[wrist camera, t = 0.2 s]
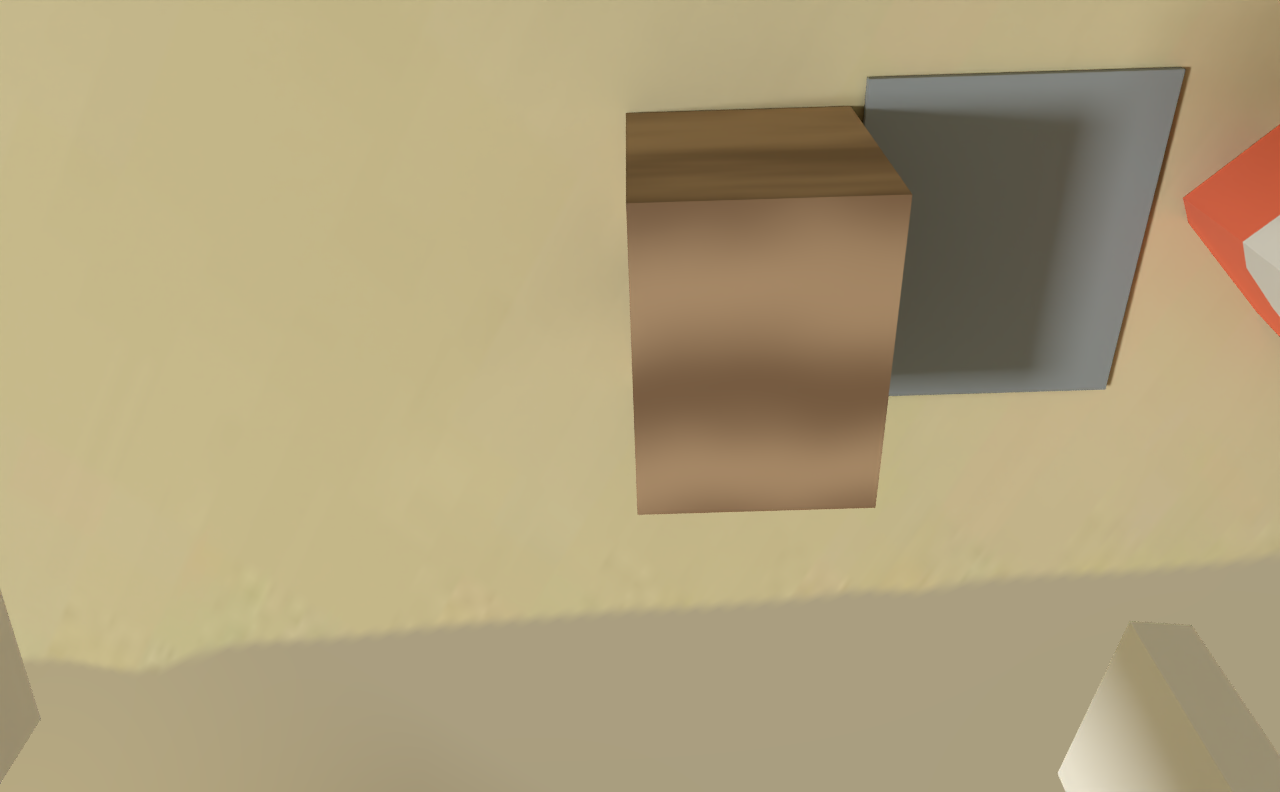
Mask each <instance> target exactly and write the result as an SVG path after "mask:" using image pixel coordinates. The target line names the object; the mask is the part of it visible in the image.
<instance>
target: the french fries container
mask: <svg viewBox="0 0 1280 792" xmlns="http://www.w3.org/2000/svg"><path fill="white" fill-rule="evenodd" d="M1183 200H1184V204H1185V209H1186V214H1187V218H1188V223H1189V224H1190V225H1191V227H1192V228H1193V229H1194V231H1195V232H1196V233H1197V235H1198V236H1199V237H1200V239H1201V240H1202V241H1203V242H1204V244H1205V245H1206V246H1207V248H1208V249H1209V250H1210V252H1211V253H1212V254H1213V256H1214V257H1215V258H1216V259H1217V261H1218V262H1219V263H1220V265H1221V266H1222V267H1223V269H1224V270H1225V271H1226V272H1227V274H1228V275H1229V276H1230V278H1231V279H1232V280H1233V282H1234V283H1235V284H1236V286H1237V287H1238V288H1239V289H1240V291H1241V292H1242V293H1243V295H1244V296H1245V297H1246V299H1247V300H1248V301H1249V303H1250V304H1251V305H1252V306H1253V308H1254V309H1255V310H1256V312H1257V313H1258V314H1259V315H1260V316H1261V317H1262V318H1263V319H1264V320H1265V321H1266V322H1267V324H1268V325H1269V326H1270V327H1271V328H1272V329H1273V330H1274V331H1275V332H1276V333H1277V334H1278V335H1279V336H1280V125H1278V126H1277V127H1276V128H1274V129H1273V130H1272V131H1270V132H1269V133H1268V134H1267V135H1265V136H1264V137H1263V138H1261V139H1260V140H1259V141H1257V142H1256V143H1255V144H1253V145H1252V146H1251V147H1249V148H1248V149H1247V150H1245V151H1244V152H1243V153H1241V154H1240V155H1239V156H1238V157H1236V158H1235V159H1234V160H1232V161H1231V162H1230V163H1228V164H1227V165H1226V166H1224V167H1223V168H1222V169H1220V170H1219V171H1218V172H1216V173H1215V174H1214V175H1212V176H1211V177H1210V178H1209V179H1207V180H1206V181H1205V182H1203V183H1202V184H1201V185H1199V186H1198V187H1197V188H1195V189H1194V190H1193V191H1191V192H1190V193H1189V194H1187V195H1186V196H1185V197H1183Z"/></svg>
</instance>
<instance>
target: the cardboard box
mask: <svg viewBox="0 0 1280 792" xmlns="http://www.w3.org/2000/svg"><path fill="white" fill-rule="evenodd" d="M912 195H913V194H912V193H911V192H910V190H909V189H908V187H907V186H906V184H905V183H904V182H903V180H902V179H901V177H900V176H899V174H898V173H897V172H896V170H895V169H894V167H893V166H892V164H891V163H890V162H889V160H888V159H887V157H886V156H885V154H884V153H883V152H882V150H881V149H880V147H879V146H878V144H877V143H876V142H875V140H874V139H873V137H872V136H871V134H870V133H869V132H868V130H867V129H866V127H865V126H864V124H863V123H862V122H861V120H860V119H859V117H858V116H857V114H856V113H855V112H854V110H853V109H852V107H851V106H839V107H808V108H776V109H744V110H712V111H680V112H648V113H626V212H627V239H628V266H629V293H630V320H631V348H632V375H633V402H634V429H635V457H636V484H637V511H638V515H643V514H677V513H710V512H744V511H777V510H811V509H844V508H875V506H876V497H877V489H878V480H879V472H880V464H881V455H882V447H883V438H884V430H885V422H886V413H887V405H888V396H889V388H890V380H891V371H892V363H893V354H894V346H895V338H896V329H897V321H898V312H899V304H900V296H901V287H902V279H903V270H904V262H905V254H906V245H907V237H908V228H909V220H910V212H911V203H912Z"/></svg>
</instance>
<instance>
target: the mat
mask: <svg viewBox="0 0 1280 792" xmlns="http://www.w3.org/2000/svg"><path fill="white" fill-rule="evenodd" d="M1184 73H1185V69H1184V68H1182V67H1172V68H1140V69H1108V70H1076V71H1045V72H1013V73H981V74H949V75H918V76H886V77H867V86H866V97H865V108H864V119H863V124H864V126H865V127H866V129H867V130H868V132H869V133H870V134H871V136H872V137H873V139H874V140H875V142H876V143H877V144H878V146H879V147H880V149H881V150H882V152H883V153H884V154H885V156H886V157H887V159H888V160H889V162H890V163H891V164H892V166H893V167H894V169H895V170H896V172H897V173H898V174H899V176H900V177H901V179H902V180H903V182H904V183H905V184H906V186H907V187H908V189H909V190H910V192H911V193H912V194H913V195H912V203H911V212H910V220H909V228H908V237H907V245H906V254H905V262H904V270H903V279H902V287H901V296H900V304H899V312H898V321H897V329H896V338H895V346H894V354H893V363H892V371H891V380H890V388H889V396H904V395H937V394H971V393H1004V392H1037V391H1070V390H1103V389H1106V385H1107V381H1108V377H1109V373H1110V369H1111V365H1112V361H1113V357H1114V353H1115V349H1116V345H1117V341H1118V337H1119V333H1120V329H1121V325H1122V321H1123V317H1124V313H1125V309H1126V305H1127V301H1128V297H1129V293H1130V289H1131V285H1132V281H1133V277H1134V273H1135V269H1136V265H1137V261H1138V257H1139V253H1140V249H1141V245H1142V241H1143V237H1144V233H1145V229H1146V225H1147V221H1148V217H1149V213H1150V209H1151V205H1152V201H1153V197H1154V193H1155V189H1156V185H1157V181H1158V177H1159V173H1160V169H1161V165H1162V161H1163V157H1164V153H1165V149H1166V145H1167V141H1168V137H1169V133H1170V129H1171V125H1172V121H1173V117H1174V113H1175V109H1176V105H1177V101H1178V97H1179V93H1180V89H1181V85H1182V81H1183V77H1184Z"/></svg>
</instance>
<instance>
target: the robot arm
mask: <svg viewBox="0 0 1280 792" xmlns="http://www.w3.org/2000/svg"><path fill="white" fill-rule="evenodd" d="M40 719H41V718H40V715H39V712H38V709H37V705H36V702H35V699H34V696H33V693H32V689H31V686H30V683H29V680H28V677H27V673H26V670H25V667H24V664H23V661H22V657H21V654H20V651H19V648H18V645H17V641H16V638H15V635H14V632H13V629H12V625H11V622H10V619H9V616H8V613H7V610H6V606H5V603H4V600H3V597H2V594H1V590H0V783H1V782H2V780H3V778H4V777H5V775H6V773H7V772H8V770H9V769H10V767H11V766H12V764H13V762H14V761H15V759H16V758H17V756H18V754H19V753H20V751H21V750H22V748H23V746H24V745H25V743H26V742H27V740H28V738H29V737H30V735H31V734H32V732H33V730H34V729H35V727H36V726H37V724H38V722H39V721H40ZM1058 775H1059V777H1060V780H1061V782H1062V784H1063V787H1064V789H1065V791H1066V792H1280V755H1279V754H1278V752H1277V751H1276V749H1275V748H1274V746H1273V745H1272V743H1271V742H1270V740H1269V739H1268V737H1267V736H1266V734H1265V733H1264V731H1263V730H1262V728H1261V727H1260V725H1259V724H1258V723H1257V721H1256V720H1255V718H1254V717H1253V716H1252V714H1251V713H1250V711H1249V709H1248V708H1247V707H1246V705H1245V703H1244V702H1243V701H1242V699H1241V698H1240V696H1239V694H1238V693H1237V691H1236V690H1235V689H1234V687H1233V686H1232V684H1231V683H1230V681H1229V680H1228V678H1227V677H1226V675H1225V674H1224V672H1223V671H1222V669H1221V668H1220V666H1219V665H1218V663H1217V662H1216V660H1215V659H1214V657H1213V656H1212V654H1211V653H1210V652H1209V650H1208V649H1207V647H1206V646H1205V644H1204V643H1203V641H1202V640H1201V639H1200V637H1199V635H1198V634H1197V632H1196V631H1195V629H1194V628H1193V626H1192V625H1183V624H1167V623H1151V622H1136V621H1129V623H1128V626H1127V628H1126V630H1125V632H1124V634H1123V636H1122V639H1121V641H1120V643H1119V645H1118V647H1117V649H1116V651H1115V653H1114V655H1113V657H1112V659H1111V662H1110V664H1109V667H1108V668H1107V670H1106V672H1105V674H1104V677H1103V679H1102V681H1101V683H1100V685H1099V687H1098V689H1097V691H1096V693H1095V696H1094V698H1093V700H1092V702H1091V704H1090V706H1089V708H1088V710H1087V713H1086V715H1085V717H1084V719H1083V721H1082V723H1081V725H1080V728H1079V730H1078V732H1077V734H1076V736H1075V738H1074V740H1073V742H1072V744H1071V746H1070V749H1069V751H1068V753H1067V755H1066V757H1065V759H1064V761H1063V763H1062V765H1061V768H1060V770H1059V772H1058Z"/></svg>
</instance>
